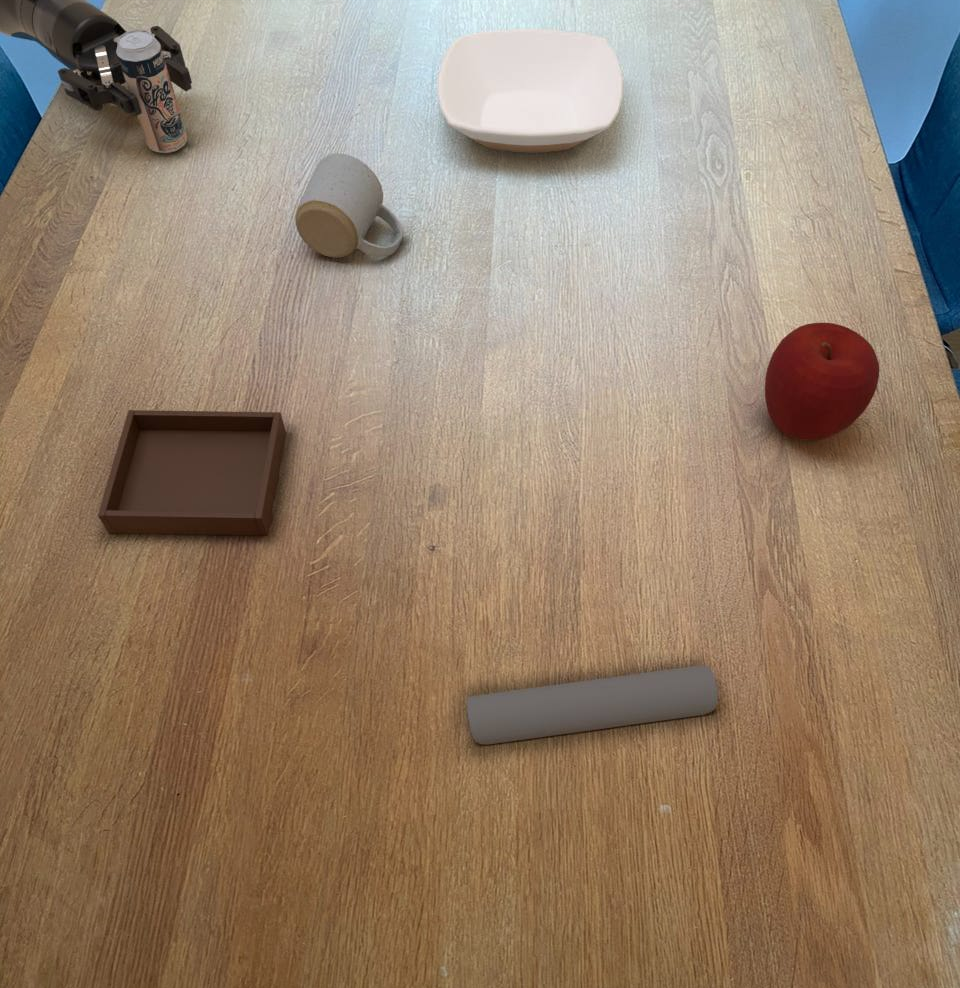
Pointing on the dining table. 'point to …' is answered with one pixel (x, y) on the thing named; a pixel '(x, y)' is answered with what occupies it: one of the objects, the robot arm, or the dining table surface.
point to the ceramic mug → (343, 209)
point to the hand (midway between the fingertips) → (162, 94)
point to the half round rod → (591, 704)
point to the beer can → (152, 90)
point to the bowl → (530, 88)
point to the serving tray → (194, 473)
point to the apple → (820, 380)
